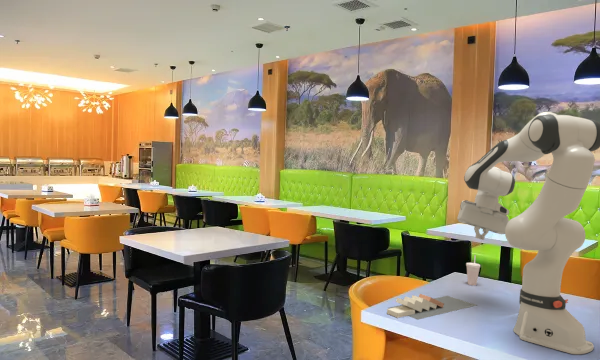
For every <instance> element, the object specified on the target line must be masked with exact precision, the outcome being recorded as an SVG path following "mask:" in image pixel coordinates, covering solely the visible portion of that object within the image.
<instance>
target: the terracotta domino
mask: <svg viewBox="0 0 600 360" xmlns="http://www.w3.org/2000/svg"><path fill="white" fill-rule="evenodd" d="M418 297H420V298H423V299H425V300H427V301H430V302H432V303H434V304H436V305H437V306H439V307H442V308H443V305H444V303H442V302H440V301H438V300H436V299H433V298H434V297H431V296H429V295H425V294H422V293H419V295H418Z"/></svg>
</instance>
